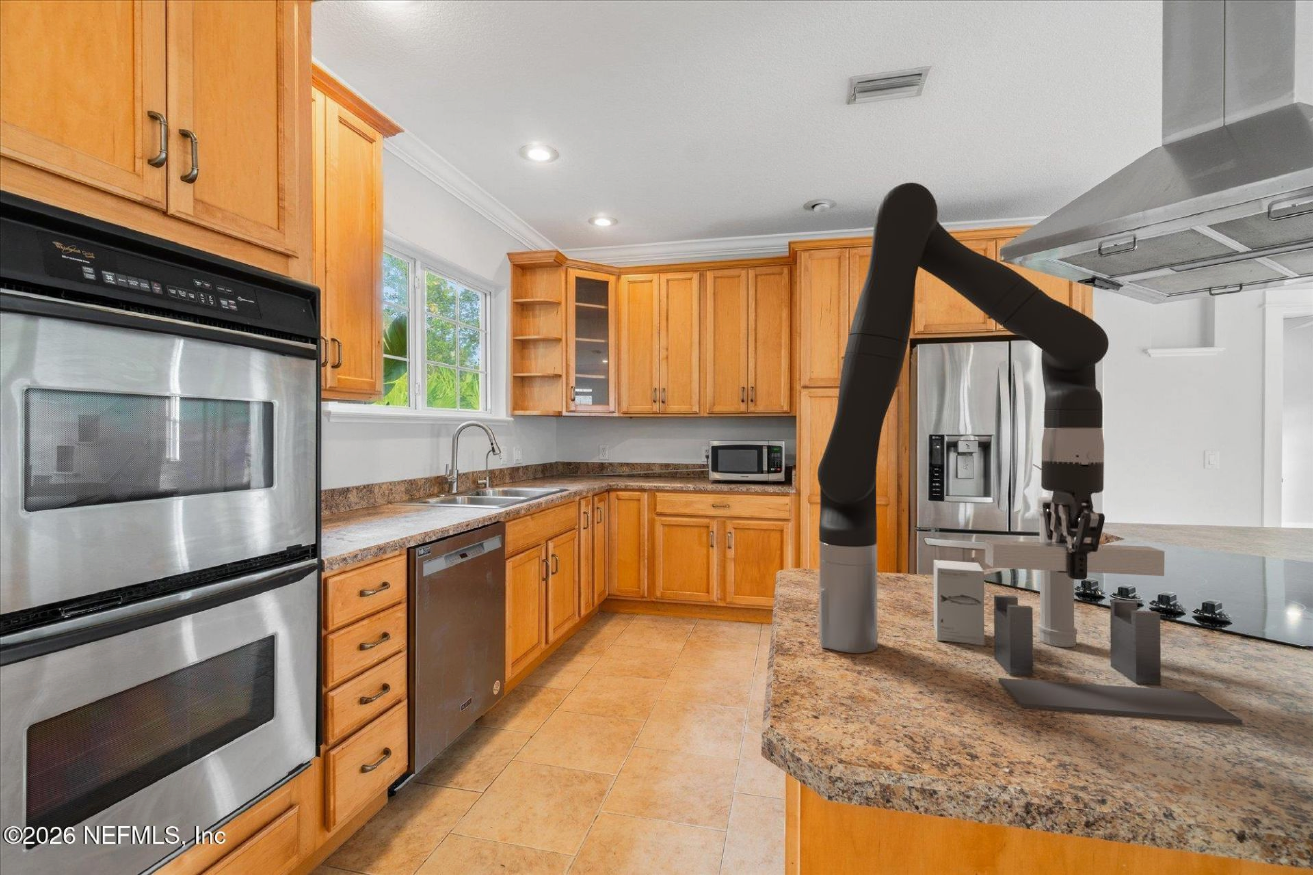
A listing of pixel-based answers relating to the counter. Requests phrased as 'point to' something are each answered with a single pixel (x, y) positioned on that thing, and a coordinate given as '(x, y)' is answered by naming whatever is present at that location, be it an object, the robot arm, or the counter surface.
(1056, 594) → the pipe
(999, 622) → the post
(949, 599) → the supplement box
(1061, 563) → the rail
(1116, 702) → the mat
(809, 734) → the counter surface
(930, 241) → the robot arm
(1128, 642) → the post
